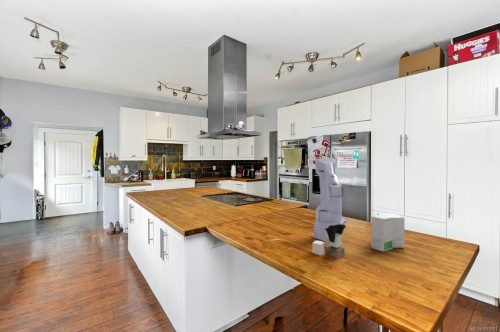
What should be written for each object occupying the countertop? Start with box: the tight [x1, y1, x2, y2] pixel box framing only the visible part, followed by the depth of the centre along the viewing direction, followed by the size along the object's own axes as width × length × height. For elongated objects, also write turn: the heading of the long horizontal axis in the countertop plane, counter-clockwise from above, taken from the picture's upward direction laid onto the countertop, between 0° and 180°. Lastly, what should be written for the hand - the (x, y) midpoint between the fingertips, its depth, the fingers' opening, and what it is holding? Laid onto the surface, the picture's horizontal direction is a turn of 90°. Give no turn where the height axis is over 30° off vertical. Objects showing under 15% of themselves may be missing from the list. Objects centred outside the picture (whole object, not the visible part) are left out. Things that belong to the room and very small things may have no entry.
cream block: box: [312, 239, 325, 256], centre depth 107 cm, size 4×4×5 cm
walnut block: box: [324, 245, 346, 260], centre depth 105 cm, size 6×6×4 cm
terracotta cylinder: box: [325, 236, 329, 247], centre depth 114 cm, size 4×4×5 cm
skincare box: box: [370, 215, 394, 252], centre depth 112 cm, size 8×7×16 cm
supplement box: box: [377, 213, 405, 249], centre depth 116 cm, size 9×9×15 cm
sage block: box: [329, 233, 343, 248], centre depth 104 cm, size 4×4×5 cm
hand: (334, 240), depth 104 cm, fingers closed on sage block, 4 cm apart
